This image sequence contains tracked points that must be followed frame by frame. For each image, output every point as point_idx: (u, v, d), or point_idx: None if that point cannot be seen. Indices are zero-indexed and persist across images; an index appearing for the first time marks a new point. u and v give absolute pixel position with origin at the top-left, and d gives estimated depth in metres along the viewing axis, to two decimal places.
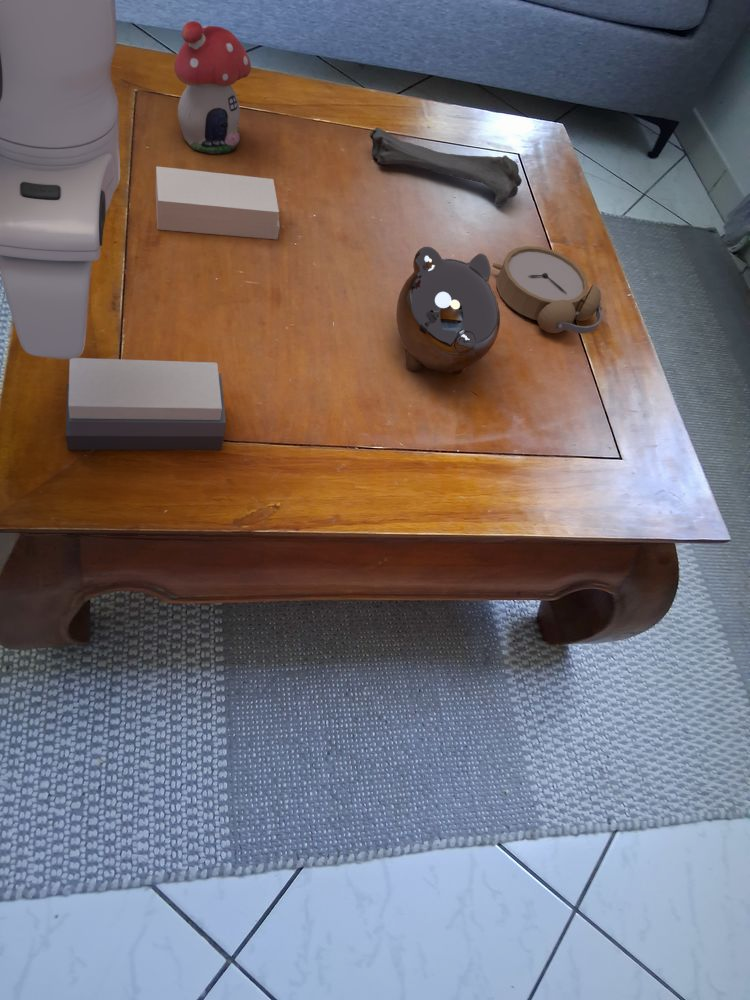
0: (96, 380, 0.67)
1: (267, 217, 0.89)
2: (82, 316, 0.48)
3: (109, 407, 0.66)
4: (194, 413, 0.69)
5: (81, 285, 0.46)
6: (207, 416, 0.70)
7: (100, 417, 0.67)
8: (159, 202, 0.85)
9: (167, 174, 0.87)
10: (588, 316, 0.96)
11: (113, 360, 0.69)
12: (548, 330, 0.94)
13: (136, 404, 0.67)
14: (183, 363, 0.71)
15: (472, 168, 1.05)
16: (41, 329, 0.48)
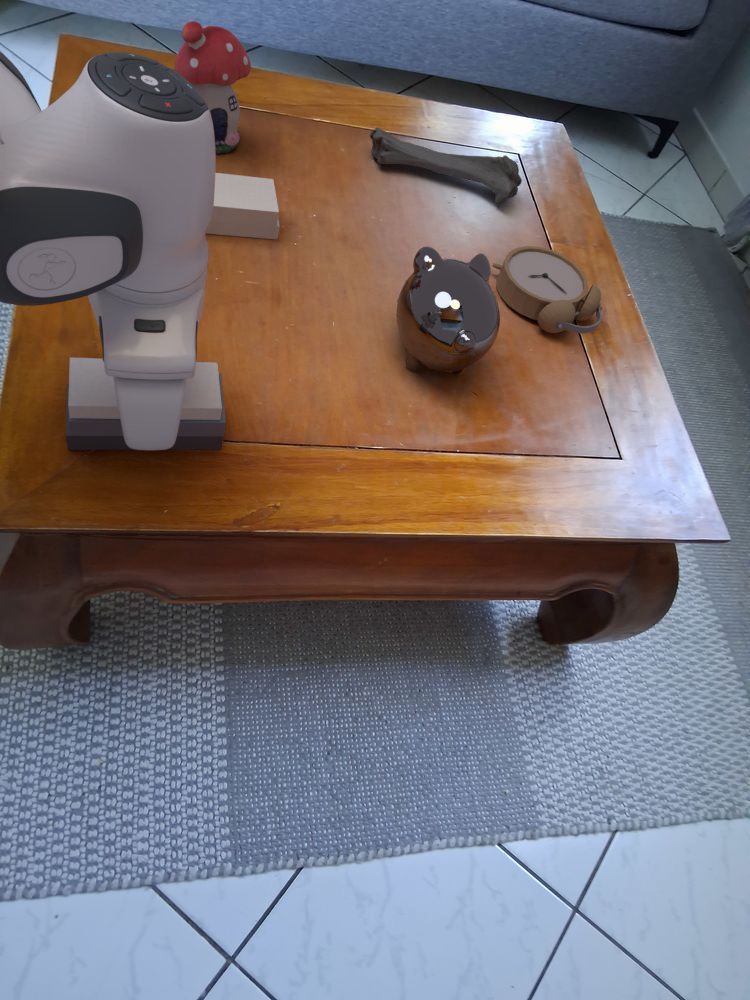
0: (96, 380, 0.67)
1: (267, 217, 0.89)
2: (177, 420, 0.58)
3: (109, 407, 0.66)
4: (194, 413, 0.69)
5: (179, 397, 0.57)
6: (207, 416, 0.70)
7: (100, 417, 0.67)
8: None
9: None
10: (588, 316, 0.96)
11: None
12: (548, 330, 0.94)
13: None
14: None
15: (472, 168, 1.05)
16: (143, 430, 0.58)
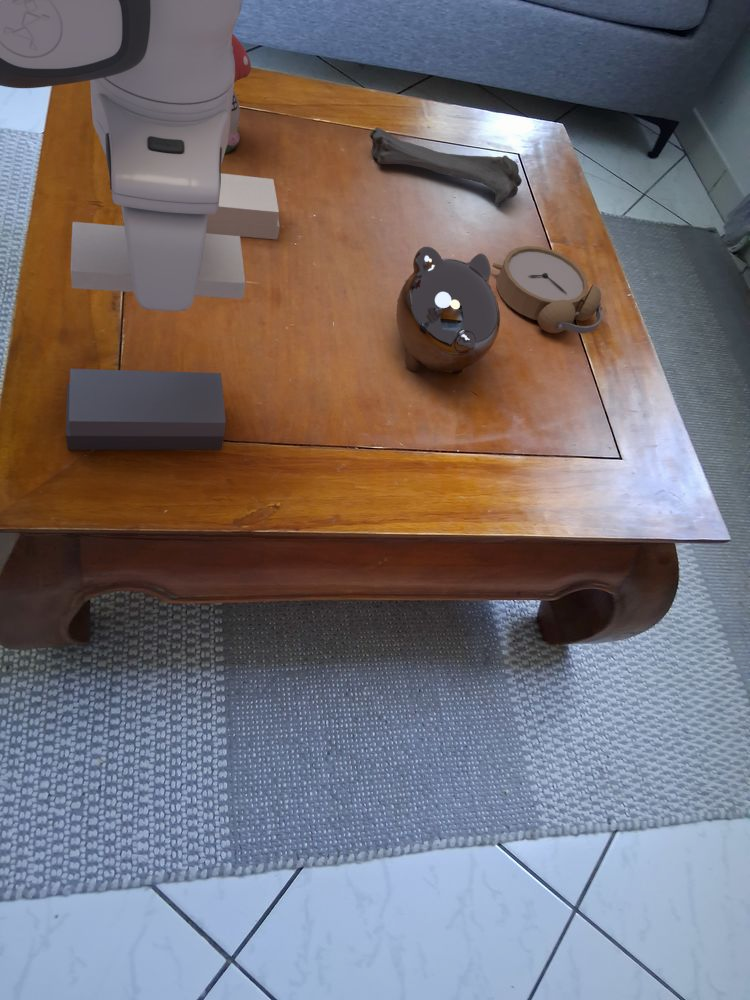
0: (103, 246, 0.59)
1: (267, 217, 0.89)
2: (196, 269, 0.50)
3: (117, 275, 0.58)
4: (214, 288, 0.61)
5: (199, 238, 0.48)
6: (228, 293, 0.61)
7: (107, 288, 0.59)
8: None
9: None
10: (588, 316, 0.96)
11: (122, 227, 0.60)
12: (548, 330, 0.94)
13: None
14: None
15: (472, 168, 1.05)
16: (157, 281, 0.50)
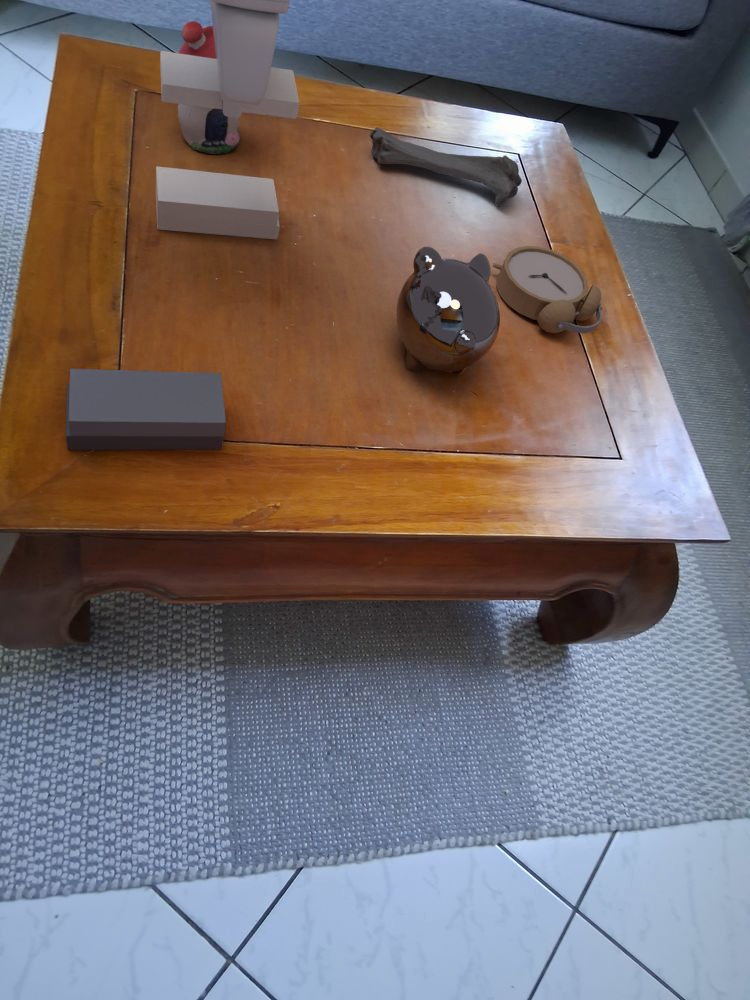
0: (185, 69, 0.73)
1: (267, 217, 0.89)
2: (269, 62, 0.64)
3: (198, 90, 0.72)
4: (274, 106, 0.75)
5: (272, 33, 0.62)
6: (285, 112, 0.75)
7: (189, 103, 0.73)
8: (159, 202, 0.85)
9: (167, 174, 0.87)
10: (588, 316, 0.96)
11: (199, 57, 0.74)
12: (548, 330, 0.94)
13: None
14: None
15: (472, 168, 1.05)
16: (238, 72, 0.64)
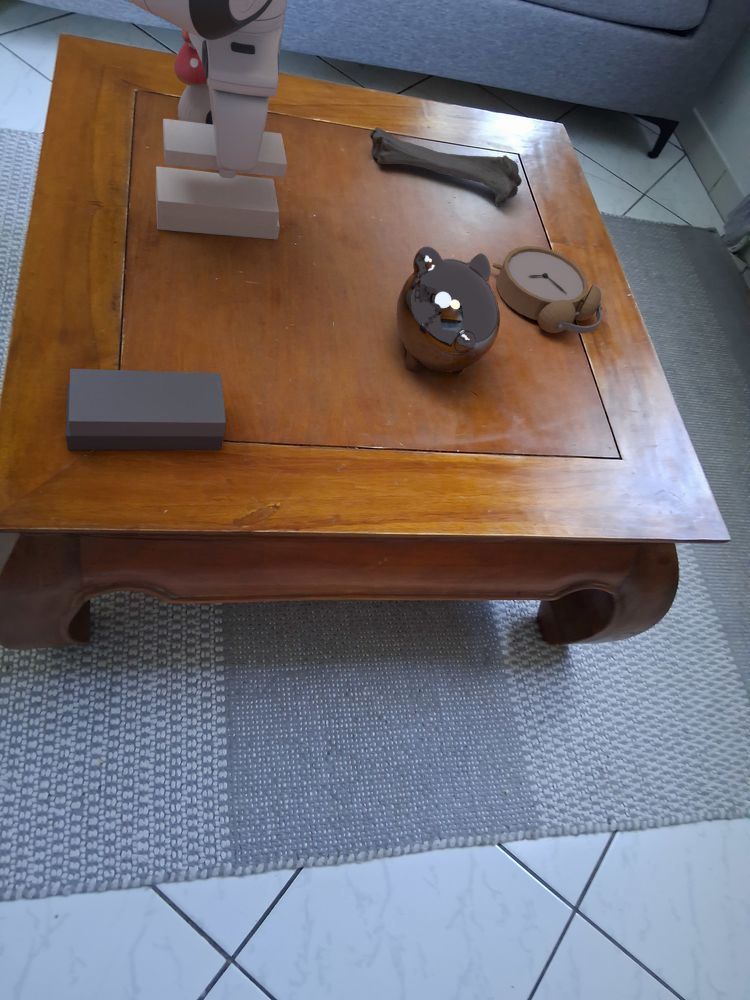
0: (186, 135, 0.82)
1: (267, 217, 0.89)
2: (260, 137, 0.73)
3: (197, 154, 0.81)
4: (264, 167, 0.84)
5: (263, 113, 0.72)
6: (274, 172, 0.84)
7: (189, 165, 0.82)
8: (159, 202, 0.85)
9: (167, 174, 0.87)
10: (588, 316, 0.96)
11: (198, 123, 0.84)
12: (548, 330, 0.94)
13: None
14: None
15: (472, 168, 1.05)
16: (233, 146, 0.73)
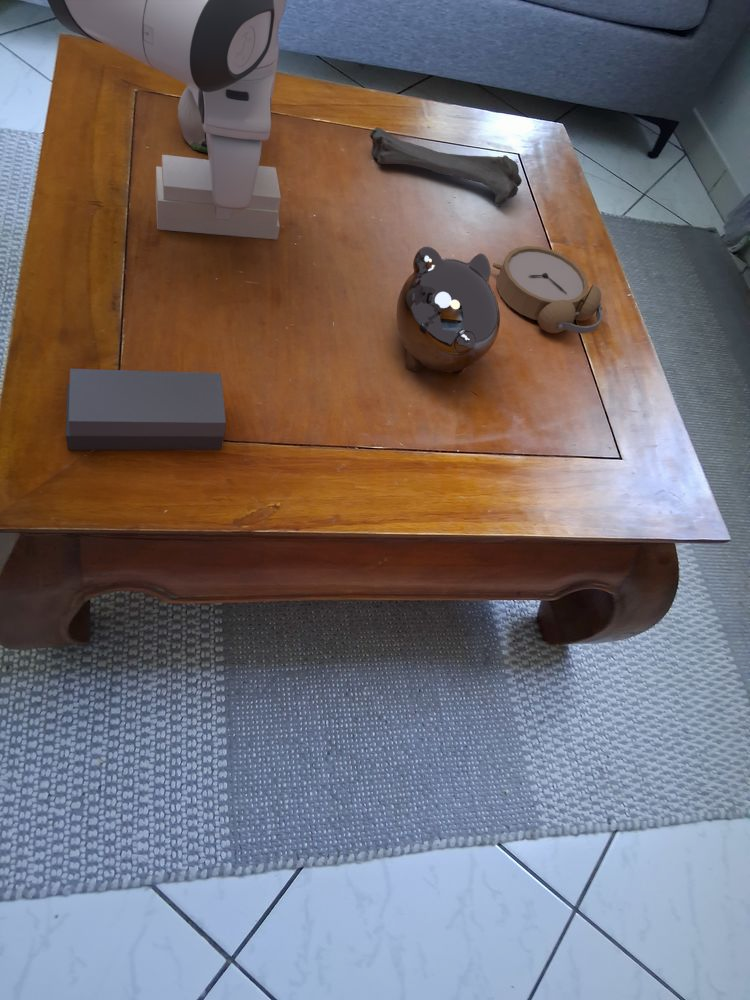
0: (183, 171, 0.86)
1: (267, 217, 0.89)
2: (254, 177, 0.77)
3: (194, 189, 0.85)
4: (259, 201, 0.87)
5: (256, 156, 0.75)
6: (269, 205, 0.88)
7: (186, 199, 0.86)
8: (159, 202, 0.85)
9: None
10: (588, 316, 0.96)
11: (195, 159, 0.87)
12: (548, 330, 0.94)
13: None
14: None
15: (472, 168, 1.05)
16: (228, 185, 0.77)
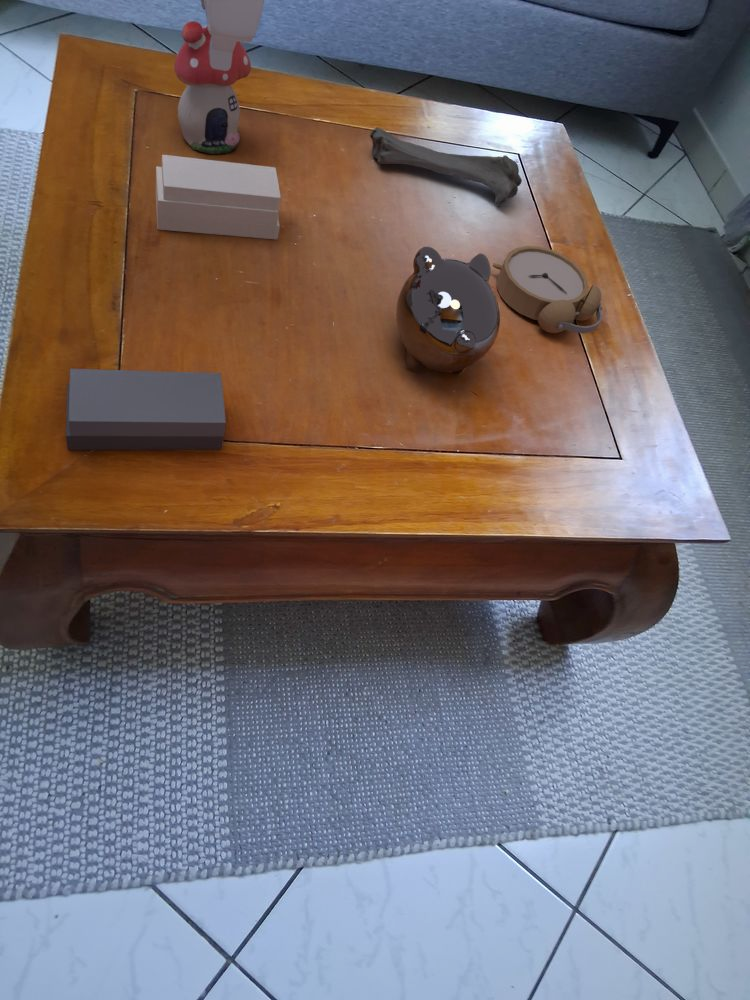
0: (183, 171, 0.86)
1: (267, 217, 0.89)
2: None
3: (194, 189, 0.85)
4: (259, 201, 0.87)
5: None
6: (269, 205, 0.88)
7: (186, 199, 0.86)
8: (159, 202, 0.85)
9: None
10: (588, 316, 0.96)
11: (195, 159, 0.87)
12: (548, 330, 0.94)
13: (215, 189, 0.85)
14: (249, 165, 0.89)
15: (472, 168, 1.05)
16: (229, 0, 0.57)
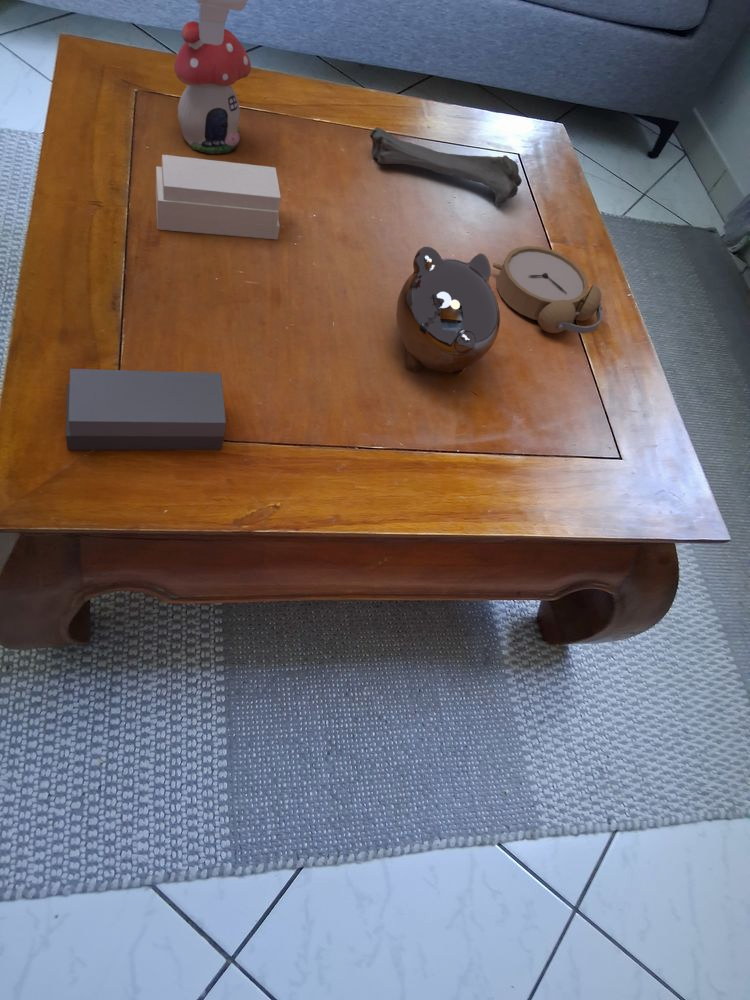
0: (183, 171, 0.86)
1: (267, 217, 0.89)
2: None
3: (194, 189, 0.85)
4: (259, 201, 0.87)
5: None
6: (269, 205, 0.88)
7: (186, 199, 0.86)
8: (159, 202, 0.85)
9: None
10: (588, 316, 0.96)
11: (195, 159, 0.87)
12: (548, 330, 0.94)
13: (215, 189, 0.85)
14: (249, 165, 0.89)
15: (472, 168, 1.05)
16: None
